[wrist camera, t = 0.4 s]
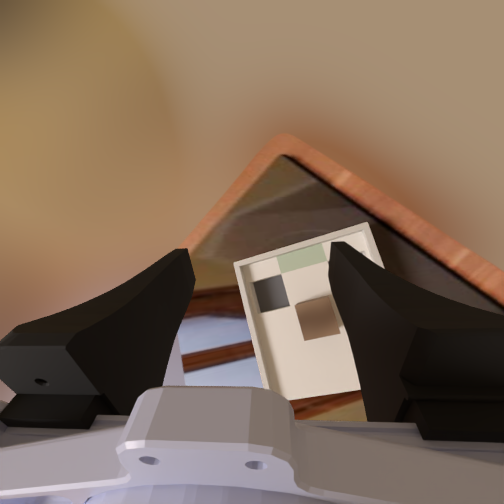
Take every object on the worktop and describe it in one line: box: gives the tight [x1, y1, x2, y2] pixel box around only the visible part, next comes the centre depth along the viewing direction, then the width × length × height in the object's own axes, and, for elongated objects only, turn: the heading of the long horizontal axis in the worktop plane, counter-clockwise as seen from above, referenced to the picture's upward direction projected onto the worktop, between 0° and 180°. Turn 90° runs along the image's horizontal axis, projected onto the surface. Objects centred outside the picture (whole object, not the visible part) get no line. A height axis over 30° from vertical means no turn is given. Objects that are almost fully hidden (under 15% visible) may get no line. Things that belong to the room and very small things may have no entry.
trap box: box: [234, 222, 385, 400], centre depth 35 cm, size 21×20×4 cm
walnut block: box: [294, 295, 341, 341], centre depth 33 cm, size 4×4×4 cm
